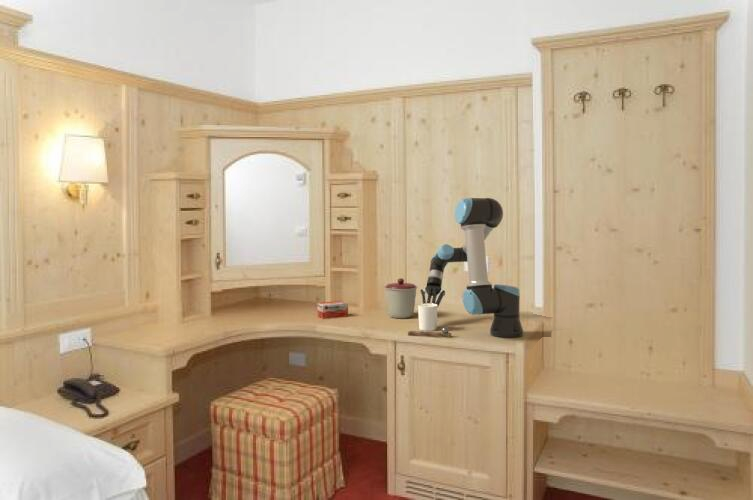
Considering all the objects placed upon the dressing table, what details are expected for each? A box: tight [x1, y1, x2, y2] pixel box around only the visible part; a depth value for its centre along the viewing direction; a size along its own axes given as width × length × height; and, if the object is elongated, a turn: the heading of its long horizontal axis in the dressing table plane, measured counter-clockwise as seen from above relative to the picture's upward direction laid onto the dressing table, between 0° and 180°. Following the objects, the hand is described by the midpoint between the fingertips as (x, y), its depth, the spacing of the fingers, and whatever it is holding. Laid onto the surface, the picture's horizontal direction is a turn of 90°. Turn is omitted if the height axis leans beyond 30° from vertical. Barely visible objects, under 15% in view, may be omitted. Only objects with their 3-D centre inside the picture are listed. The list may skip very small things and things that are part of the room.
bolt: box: [441, 326, 449, 334], centre depth 290 cm, size 3×3×2 cm
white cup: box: [417, 302, 439, 332], centre depth 307 cm, size 10×10×12 cm
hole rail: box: [407, 330, 452, 339], centre depth 293 cm, size 20×4×2 cm, turn 74°
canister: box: [383, 278, 418, 319], centre depth 340 cm, size 18×18×21 cm
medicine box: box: [317, 300, 349, 320], centre depth 343 cm, size 15×8×8 cm, turn 118°
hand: (428, 318), depth 312 cm, fingers closed
